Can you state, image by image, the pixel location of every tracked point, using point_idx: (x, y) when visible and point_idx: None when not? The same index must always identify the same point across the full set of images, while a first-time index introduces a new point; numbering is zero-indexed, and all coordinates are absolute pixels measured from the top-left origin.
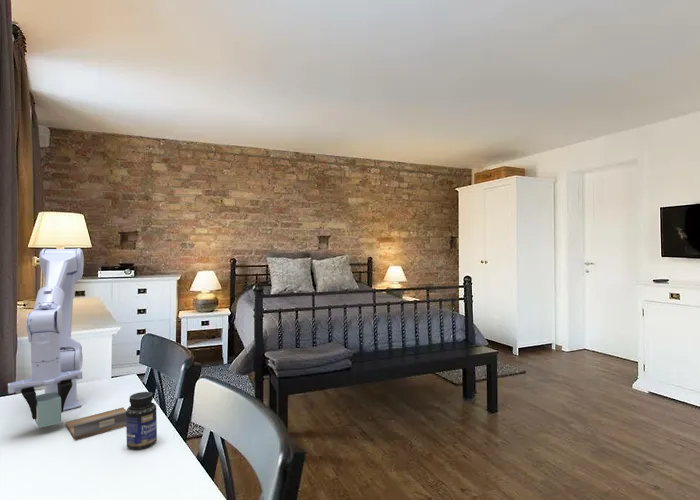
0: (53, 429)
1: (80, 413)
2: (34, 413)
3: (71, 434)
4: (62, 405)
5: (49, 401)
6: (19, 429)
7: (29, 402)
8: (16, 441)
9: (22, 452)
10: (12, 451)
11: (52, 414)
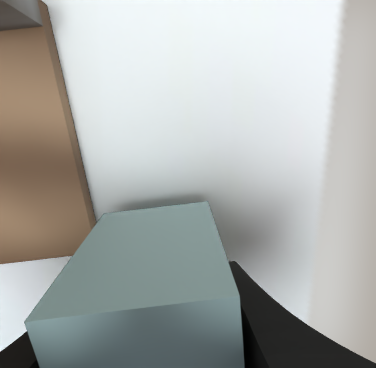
0: None
1: None
2: (238, 276)
3: (69, 106)
4: None
5: (135, 298)
6: None
7: (311, 338)
8: (284, 187)
9: (274, 27)
10: (308, 75)
11: (136, 234)
